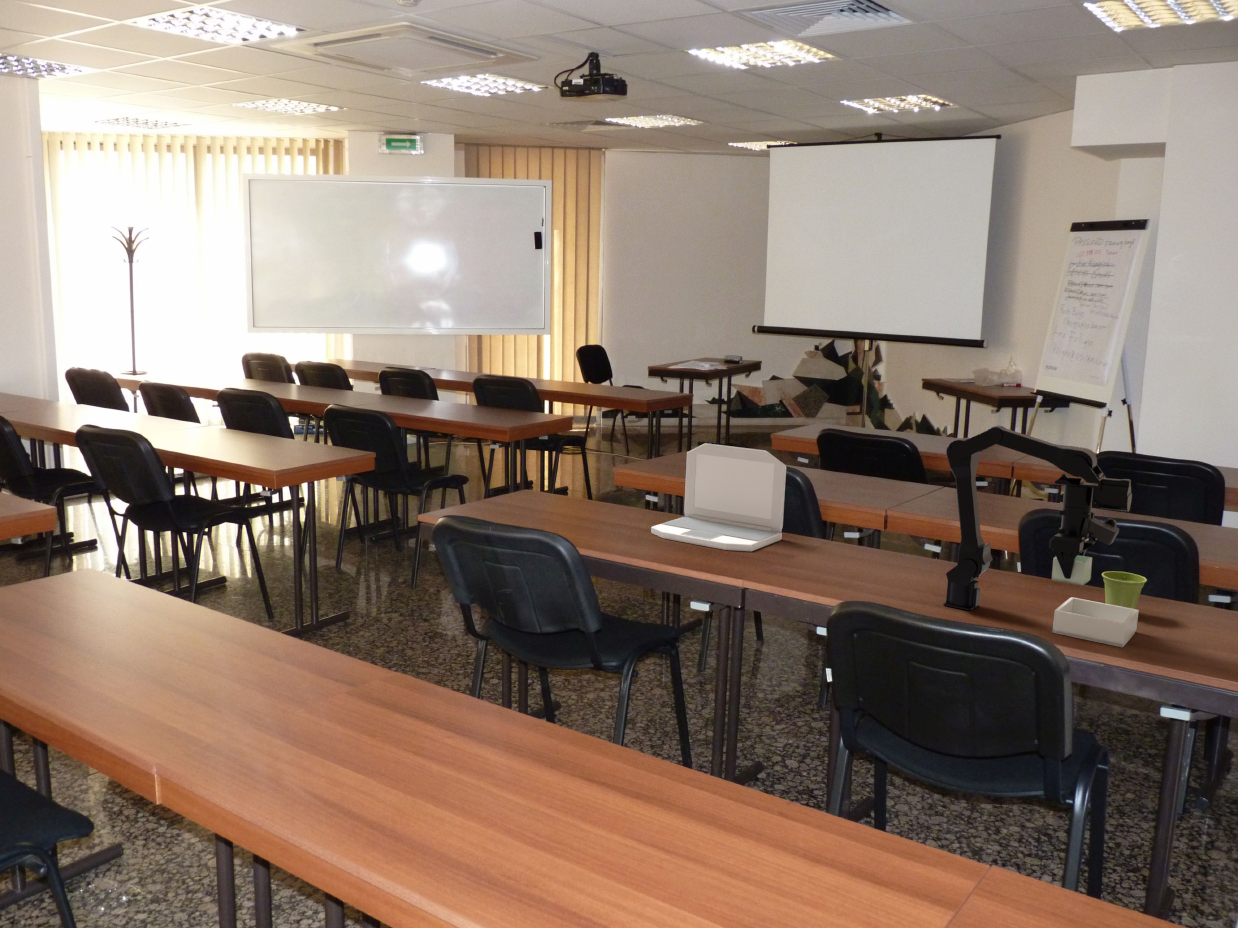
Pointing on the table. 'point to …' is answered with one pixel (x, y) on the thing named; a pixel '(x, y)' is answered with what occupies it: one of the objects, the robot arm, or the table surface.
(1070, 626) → the big crate
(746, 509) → the laptop
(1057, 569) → the small crate
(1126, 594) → the plant pot
